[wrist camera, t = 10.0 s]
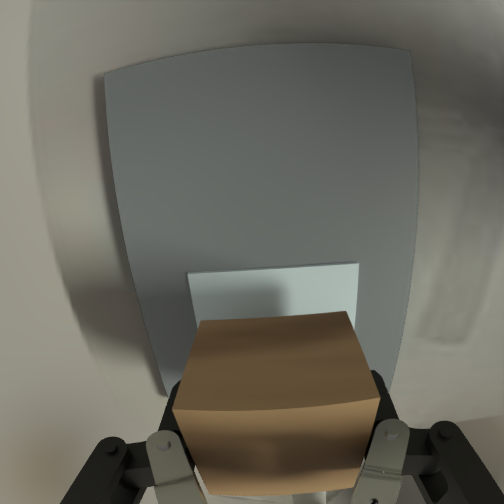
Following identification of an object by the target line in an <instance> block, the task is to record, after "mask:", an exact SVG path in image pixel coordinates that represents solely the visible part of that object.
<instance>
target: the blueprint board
mask: <svg viewBox="0 0 504 504" xmlns="http://www.w3.org/2000/svg"><path fill="white" fill-rule="evenodd" d="M104 87H105V103H106V116H107V127H108V137H109V147H110V155H111V163H112V170H113V178H114V184H115V191H116V197H117V203H118V209H119V215H120V220H121V226H122V231H123V236H124V241H125V246H126V250H127V255H128V260H129V264H130V268H131V273H132V277H133V281H134V285H135V289H136V293H137V297H138V301H139V305H140V309H141V312H142V316H143V320H144V323H145V327H146V330H147V334H148V337H149V340H150V344H151V347H152V350H153V353H154V357H155V360H156V363H157V366H158V369H159V372H160V375H161V378H162V381H163V384H164V387H165V389H166V392H167V395H168V398H170V397H169V396H170V393H171V390H172V388H173V387H174V385H175V384H176V383H177V382H178V381H179V380H181V379H182V376H183V373H184V370H185V366H186V363H187V360H188V357H189V354H190V351H191V348H192V345H193V342H194V339H195V336H196V333H197V330H198V327H199V324H200V321H201V320H226V319H246V318H263V317H278V316H292V315H305V314H317V313H328V312H338V311H346V312H347V314H348V316H349V319H350V321H351V323H352V326H353V328H354V331H355V333H356V336H357V338H358V341H359V343H360V346H361V348H362V351H363V353H364V356H365V358H366V361H367V363H368V366H369V368H370V370H375V371H376V372H378V373H379V374H380V375H381V376H382V378H383V380H384V383H385V386H386V388H387V390H388V394H389V391H390V387H391V384H392V380H393V376H394V372H395V367H396V363H397V359H398V354H399V350H400V345H401V340H402V335H403V330H404V324H405V319H406V313H407V307H408V301H409V294H410V287H411V279H412V271H413V263H414V253H415V242H416V230H417V213H418V187H419V150H418V124H417V108H416V96H415V86H414V77H413V69H412V61H411V54H410V50H404V49H396V48H388V47H379V46H369V45H356V44H337V43H283V44H264V45H250V46H240V47H230V48H222V49H214V50H207V51H201V52H194V53H189V54H183V55H178V56H172V57H168V58H163V59H158V60H154V61H149V62H145V63H141V64H137V65H133V66H129V67H126V68H122V69H118V70H115V71H111V72H108V73H105V74H104Z"/></svg>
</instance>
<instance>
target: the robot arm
mask: <svg viewBox="0 0 504 504" xmlns="http://www.w3.org/2000/svg"><path fill="white" fill-rule="evenodd" d="M370 371H371V374H372V376H373V379H374V382H375V384H376V387H377V390H378V392H379V395H380V401H379V405H378V409H377V413H376V417H375V421H374V424H373V428H372V431H371V435H370V438H369V442H368V445H367V448H366V451H365V454H364V458H365V463H364V465H363V468H362V471H361V474H360V477H359V479H358V482H357V485H356V488H355V490H354V493H353V495H352V498H351V500H350V503H349V504H396V500H397V497H398V493H399V490H400V486H401V482H402V475H412V476H413V478H414V480H415V482H416V484H417V486H418V488H419V490H420V492H421V494H422V496H423V498H424V500H425V502H426V504H504V494H503V493H502V491H501V490H500V488H499V487H498V485H497V484H496V482H495V480H494V479H493V478H492V476H491V474H490V473H489V471H488V470H487V468H486V467H485V465H484V464H483V462H482V461H481V459H480V458H479V456H478V455H477V453H476V452H475V450H474V449H473V447H472V446H471V445H470V443H469V441H468V440H467V439H466V437H465V436H464V434H463V433H462V431H461V430H460V429H459V427H458V426H457V425H456V424H454V423H453V422H450V421H439V422H437V423H435V424H434V425H433V426H432V427H431V429H414V428H410V427H408V425H407V424H406V423H404V422H403V421H401V420H399V418H398V415H397V413H396V410H395V408H394V405H393V403H392V400H391V398H390V395H389V394H388V390H387V388H386V386H385V383H384V380H383V378H382V376H381V375H380V374H379V373H378V372H376V371H375V370H370ZM180 382H181V380H179V381H178V382H177V383H176V384H175V385H174V387H173V388H172V390H171V393H170V396H169V397H170V398H169V399H168V402H167V405H166V408H165V411H164V414H163V417H162V420H161V423H160V426H159V429H158V431H157V432H155V433H153V434H151V435H150V436H149V437H148V439H147V441H144V442H139V443H131V444H126V443H125V442H124V440H122V439H121V438H118V437H107V438H105V439H103V440H101V441H100V442H99V443H98V444H97V446H96V447H95V449H94V451H93V452H92V454H91V455H90V457H89V458H88V460H87V462H86V463H85V465H84V466H83V468H82V470H81V471H80V473H79V474H78V476H77V477H76V479H75V481H74V482H73V484H72V485H71V487H70V488H69V490H68V492H67V493H66V495H65V496H64V498H63V500H62V501H61V503H60V504H139V503H140V501H141V499H142V497H143V494H144V492H145V490H146V488H147V487H151V486H154V490H155V493H156V497H157V500H158V504H208V503H207V501H206V498H205V496H204V494H203V491H202V489H201V487H200V484H199V482H198V479H197V477H196V474H195V472H194V468H195V463H194V460H193V458H192V456H191V454H190V452H189V449H188V447H187V445H186V442H185V440H184V438H183V435H182V433H181V431H180V428H179V426H178V423H177V421H176V418H175V416H174V413H173V411H172V407H173V404H174V401H175V398H176V395H177V391H178V388H179V385H180Z"/></svg>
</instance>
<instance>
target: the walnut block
mask: <svg viewBox="0 0 504 504" xmlns="http://www.w3.org/2000/svg"><path fill="white" fill-rule="evenodd" d="M379 401H380V395H379V392H378V390H377V387H376V384H375V382H374V379H373V376H372V374H371V371H370V368H369V366H368V363H367V361H366V358H365V356H364V353H363V351H362V348H361V346H360V343H359V341H358V338H357V336H356V333H355V331H354V328H353V326H352V323H351V321H350V319H349V316H348V314H347V312H346V311H338V312H328V313H317V314H305V315H292V316H278V317H263V318H246V319H226V320H201V321H200V324H199V327H198V330H197V333H196V336H195V339H194V342H193V345H192V348H191V351H190V354H189V357H188V360H187V363H186V366H185V370H184V373H183V376H182V379H181V382H180V385H179V388H178V391H177V395H176V398H175V401H174V404H173V407H172V411H173V413H174V416H175V418H176V421H177V423H178V426H179V428H180V431H181V433H182V435H183V438H184V440H185V442H186V445H187V447H188V449H189V452H190V454H191V456H192V458H193V460H194V463H195V465H196V467H197V469H198V471H199V473H200V475H201V477H202V480H203V482H204V484H205V486H206V488H207V490H208V492H209V494H212V495H236V496H265V495H289V494H302V493H313V492H322V491H330V490H338V489H344V488H351V487H354V484H355V481H356V478H357V475H358V473H359V470H360V467H361V464H362V461H363V458H364V454H365V451H366V448H367V445H368V442H369V438H370V435H371V431H372V428H373V424H374V421H375V417H376V413H377V409H378V405H379Z"/></svg>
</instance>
